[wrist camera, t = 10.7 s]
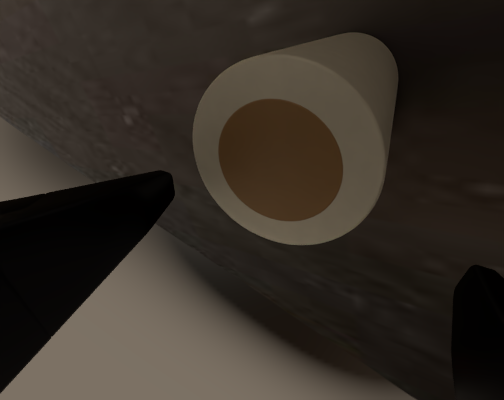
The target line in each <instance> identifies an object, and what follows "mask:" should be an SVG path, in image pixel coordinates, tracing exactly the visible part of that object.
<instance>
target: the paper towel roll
mask: <svg viewBox="0 0 504 400" xmlns="http://www.w3.org/2000/svg"><path fill="white" fill-rule="evenodd" d="M397 89H398V69H397V65H396V62H395V59H394V57H393V55H392V53H391V52H390V50H389V49H388V48H387V47H386V46H385V45H384V44H383V43H382V42H381V41H380V40H378V39H377V38H375V37H373V36H370V35H367V34H364V33H357V32H350V33H343V34H339V35H335V36H331V37H327V38H323V39H320V40H316V41H312V42H308V43H304V44H300V45H296V46H292V47H289V48H285V49H281V50H277V51H273V52H269V53H265V54H262V55H258V56H254V57H251V58H248V59H245V60H242V61H240V62H238V63H236V64H234V65H232V66H231V67H229V68H228V69H226V70H225V71H224V72H222V73H221V74H220V75H219V76H218V77H217V78H216V79H215V80H214V81H213V82H212V83H211V85H210V86H209V88H208V89H207V90H206V92H205V93H204V95H203V97H202V99H201V101H200V103H199V106H198V109H197V112H196V115H195V120H194V125H193V149H194V155H195V160H196V163H197V167H198V170H199V173H200V175H201V178H202V180H203V182H204V184H205V186H206V188H207V189H208V191H209V192H210V194H211V196H212V197H213V198H214V200H215V201H216V202H217V204H218V205H219V206H220V207H221V208H222V209H223V210H224V211H225V212H226V213H227V214H228V215H229V216H230V217H231V218H232V219H233V220H235V221H236V222H237V223H239V224H240V225H241V226H243V227H244V228H246V229H248V230H249V231H251V232H253V233H255V234H257V235H259V236H261V237H264V238H266V239H269V240H272V241H276V242H279V243H285V244H292V245H312V244H319V243H324V242H327V241H331V240H333V239H336V238H338V237H341V236H343V235H344V234H346V233H348V232H349V231H351V230H352V229H354V228H355V227H356V226H357V225H359V224H360V223H361V222H362V221H363V220H364V219H365V218H366V217H367V216H368V214H369V213H370V212H371V210H372V209H373V207H374V206H375V204H376V202H377V200H378V198H379V196H380V194H381V191H382V188H383V184H384V180H385V175H386V167H387V160H388V153H389V146H390V139H391V132H392V124H393V117H394V110H395V103H396V96H397Z"/></svg>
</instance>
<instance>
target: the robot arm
mask: <svg viewBox="0 0 504 400" xmlns="http://www.w3.org/2000/svg"><path fill="white" fill-rule="evenodd" d="M174 196H175V190H174V184H173V178H172V175H171V174H170V173H168V172H165V171H161V170H158V171H153V172H148V173H143V174H138V175H133V176H129V177H124V178H119V179H114V180H109V181H104V182H99V183H94V184H89V185H85V186H79V187H74V188H69V189H64V190H59V191H54V192H49V193H46V194H39V195H34V196H29V197H24V198H19V199H13V200H8V201H2V202H0V393H1V392H2V391H3V390H4V389H5V388H6V387H7V386H8V385H9V383H10V382H11V381H12V380H13V379H14V378H15V377H16V376H17V375H18V374H19V373H20V371H21V370H22V369H23V368H24V367H25V366H26V365H27V364H28V363H29V362H30V361H31V359H32V358H33V357H34V356H35V355H36V354H37V353H38V352H39V351H40V350H41V349H42V347H43V346H44V345H45V344H46V343H47V342H48V341H49V340H50V339H51V336H53V335H54V334H55V333H56V332H57V331H58V330H59V329H60V327H61V326H62V325H63V324H64V323H65V322H66V321H67V320H68V319H69V318H70V317H71V316H72V314H73V313H74V312H75V311H76V310H77V309H78V308H79V307H80V306H81V305H82V303H83V302H84V301H85V300H86V299H87V298H88V297H89V296H90V295H91V294H92V293H93V292H94V291H95V289H96V288H97V287H98V286H99V285H100V284H101V283H102V282H103V280H104V279H106V277H107V276H108V275H109V274H110V273H111V272H112V271H113V270H114V269H115V268H116V267H117V265H118V264H119V263H120V262H121V261H122V260H123V259H124V258H125V257H126V256H127V255H128V253H129V252H130V251H131V250H132V249H133V248H134V247H135V246H136V245H137V244H138V242H140V240H141V239H142V238H143V237H144V236H145V235H146V234H147V233H148V232H149V230H150V229H151V228H152V227H153V225H154V224H155V223H156V221H157V220H158V219H159V217H160V216H161V215H162V213H163V212H164V211H165V209H166V208H167V207H168V205H169V204H170V203H171V201H172V200H173V198H174ZM451 354H452V368H453V379H454V390H455V400H504V278H503V277H502V276H501V275H500V274H499V273H497V272H496V271H495V270H492V269H489V268H486V267H482V266H479V265H473V266H471V267H470V268H469V269H468V270H467V272H466V273H465V275H464V276H463V277H462V279H461V280H460V281H459V283H458V284H457V286H456V287H455V290H454V296H453V319H452V342H451Z"/></svg>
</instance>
